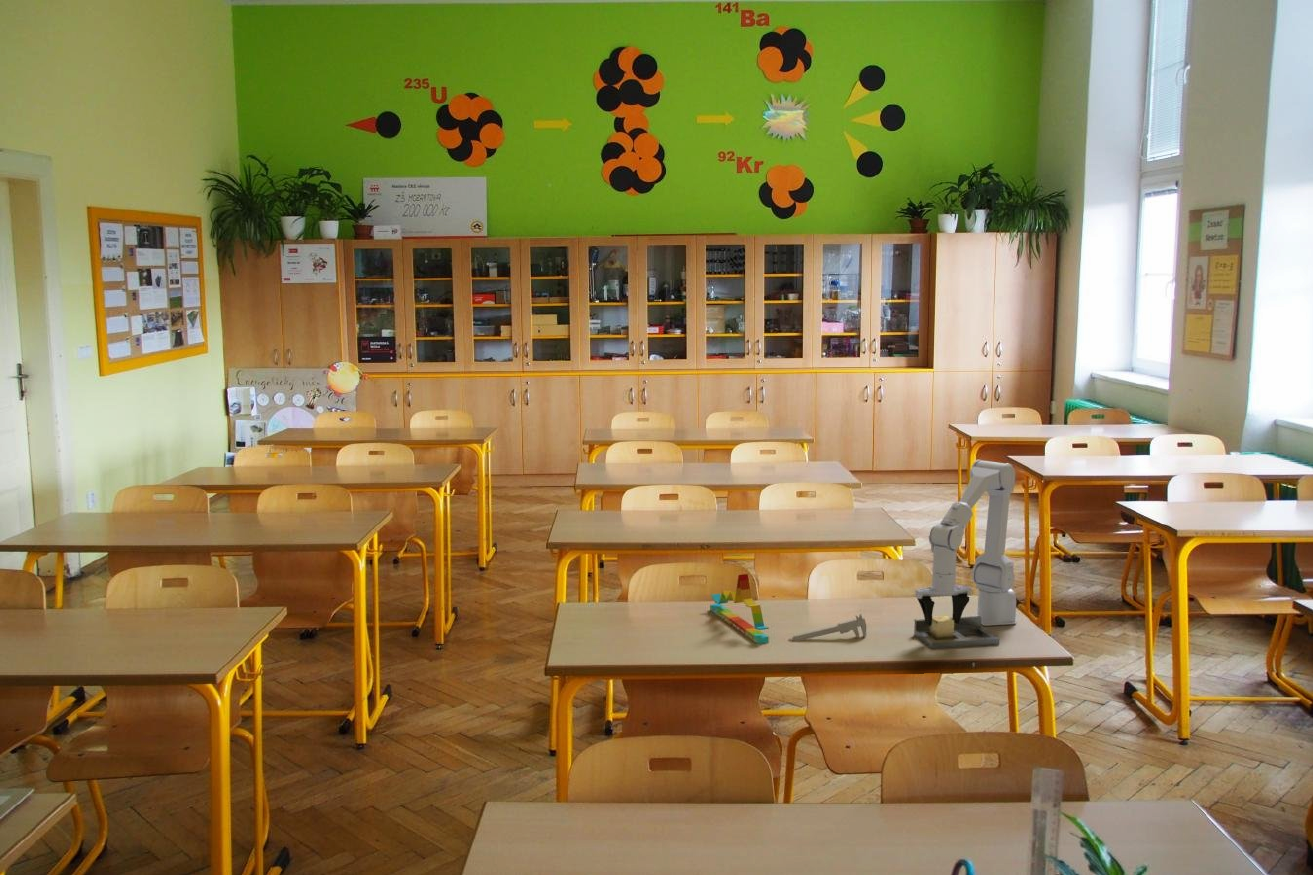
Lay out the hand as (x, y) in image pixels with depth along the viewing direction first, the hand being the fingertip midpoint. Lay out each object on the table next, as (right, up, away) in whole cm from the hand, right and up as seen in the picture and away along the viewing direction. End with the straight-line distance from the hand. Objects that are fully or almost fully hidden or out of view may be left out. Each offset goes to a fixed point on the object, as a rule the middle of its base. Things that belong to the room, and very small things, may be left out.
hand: (942, 623), depth 279 cm
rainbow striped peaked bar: (-51, -3, +13) cm, 53 cm away
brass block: (0, -5, +1) cm, 5 cm away
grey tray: (+4, -4, +1) cm, 6 cm away
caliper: (-29, -5, +3) cm, 29 cm away
